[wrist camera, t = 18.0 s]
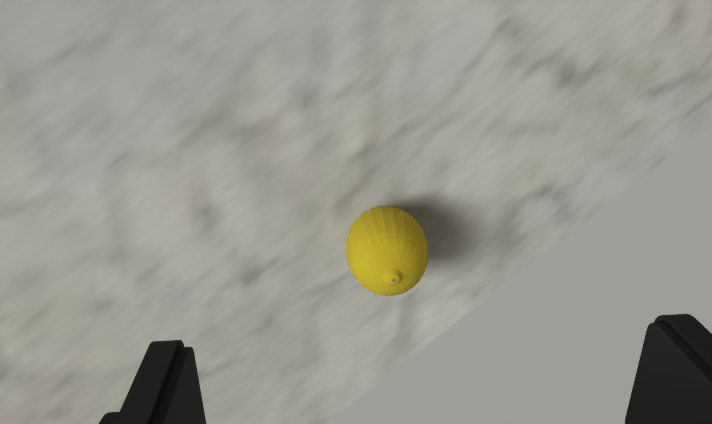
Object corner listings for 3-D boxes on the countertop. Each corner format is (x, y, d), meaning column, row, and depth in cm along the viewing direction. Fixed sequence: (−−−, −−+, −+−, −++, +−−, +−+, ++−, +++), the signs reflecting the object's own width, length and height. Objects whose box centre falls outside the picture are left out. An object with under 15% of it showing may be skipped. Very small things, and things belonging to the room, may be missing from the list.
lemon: (328, 224, 41) (330, 280, 34) (383, 174, 40) (398, 222, 32) (378, 269, 43) (390, 332, 36) (432, 224, 42) (456, 279, 34)
